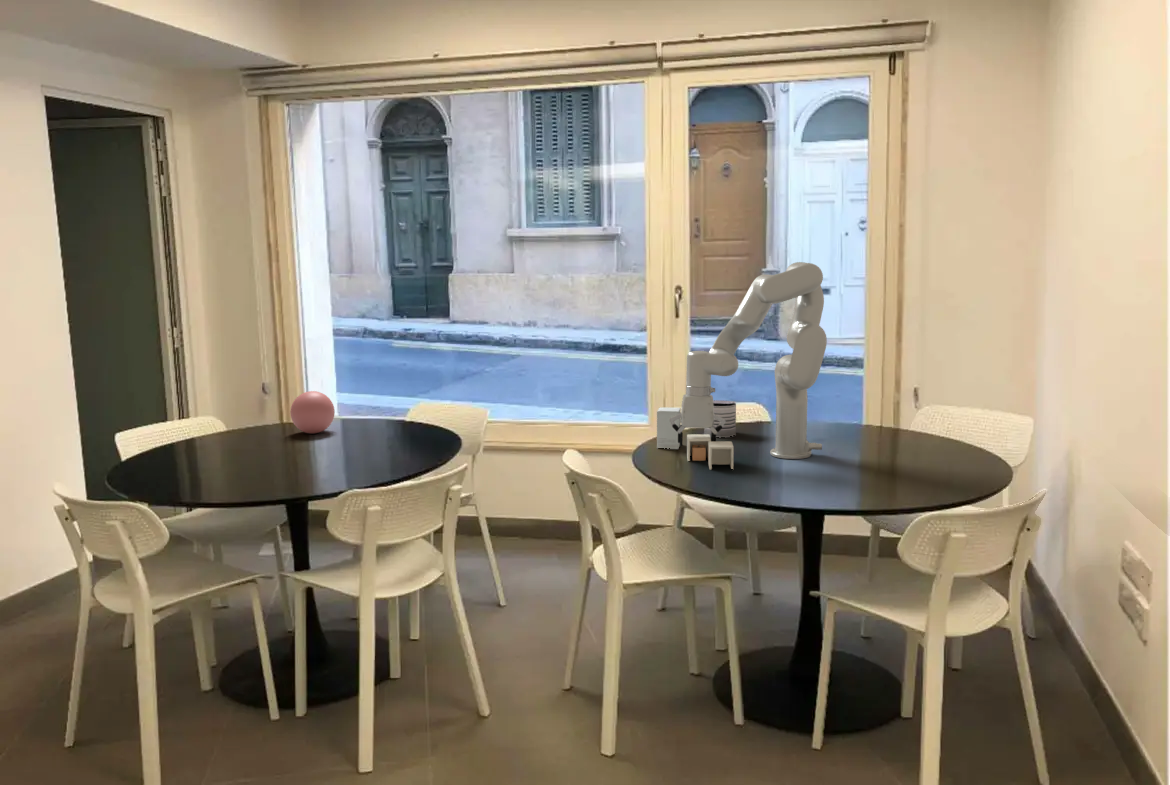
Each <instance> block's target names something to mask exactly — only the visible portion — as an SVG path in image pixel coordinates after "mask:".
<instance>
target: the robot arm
mask: <svg viewBox="0 0 1170 785" xmlns="http://www.w3.org/2000/svg"><path fill="white" fill-rule="evenodd" d="M823 279H824V274H823V271H822V269H821V268H820V267H819V266H818V265H816V264H814V263H811V262H803V261H799V262H798V261H797V262H793V263H791V264H789V266H788V267H787V268H786V270H785V271H783V272H779V273H776V274H760V275H758V276H757V277H756V278H755V279H754V280H753V281H752V283H751V284H750V286H749V288H748V290H747V292H746V294H745V295H744V297H743V298H742V300H741V302H740V304H739V306H738V307H737V309H736V311H735V313H734V314H733V316H732V317H731V318H730V320H728V322H727V323H726V325H725V326H724V327H723V329H722V330H721V331H720V333H719V334H718V335H717V337H716V339H715V341H714V343H712V344H713V345H712V346H711V347H710V350H709V351H705V350H702V351H701V350H692V351H690V352H688V353H687V355H686V376H685V377H686V378H685V379H686V381H685V383H686V384H685V394H683V395H682V400H681V407H680V408H681V413H680V414H678V415H675V416H673V417H671V418H670V419H669V421H670V423H671V425H672V427H673V428H674V429H675V430H676V431H677V433H678V443H680V446H679V447H682V446H683V436H684V434H683V431H684V430H685V429H686V428H687V429H704V428H710V430H711V431H712V433H711V437H710V438H711V441H717V438H716V434H717V433H718V432H719V431H720V430H721V429H722V427H723V426H724V424H725V422H726V421H725V419H723V418H721V417H719V416H718V415H716V414H714V404H713V400H714V397H713V395H712V394H713V393H716V387H712V386H711V385H712V383H711V382H712V376H718V377H720V376H721V377H729V376H730V377H731V376H732V375H734V374H735V373H736V372H737V370H738V369H739V360H738V358H737V356H735V353H736V352H737V350H738V348H739V347H740V345H741V344H742V343H743V342H744V341H745V340H746V339H747V338H748V337H749V336H751V335H753V334H754V333H755V332H757V331H758V329H760V328H761V325H762V324H763V321H764V320H765V318H766V316H767V314H768V312H769V311H770V309H771V307H772V305H773V304H774V305H775V304H780V303H784V302H787V301H790V300H792V299H794V300H795V301H794V308H793V313H792V316H791V319H790V320H791V321H790V324H789V328H788V331H787V333H786V342H787V345H788V346H789V347H790V348H791V349H792V353H791V354H786V355H783V356H782V357H780V358H779V359H778V360H777V362H776V364H775V367H774V382H775V391H776V392H775V397H776V398H775V399H776V400H775V402H776V404H775V447H773V448H771V449H770V455H771V456H772V457H774V458H779V459H787V460H798V459H799V460H800V459H801V460H802V459H807V458H810V457H811V456H812V450H817V451H822V449H823V444H822V443H817V442H809V441H808V438H807V437H808V436H807V432H808V428H807V427H808V426H807V425H808V389H810V388H811V387H813V385H814V384H815V383H816V381H817V380H818V376H819V374H820V370H821V367H822V363H823V360H824V357H825V356H824V355H825V352H826V348H827V343H828V340H827V334H826V331H825V330H824V328H823V327H822V326H821V324H820V323H821V319H822V314H823V311H824V303H825V296H824V291H823V289H822V286H821V285H822V283H823ZM680 418H681V425H680V426H679V427H678V426H677V425H676V424H675V420H678V419H680ZM714 419H716V420H718V421H719V422H720V423H719V425H718V426H717V427H716V428H715V427H714V426H713V425H714Z"/></svg>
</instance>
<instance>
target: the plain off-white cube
mask: <svg viewBox="0 0 1170 785" xmlns="http://www.w3.org/2000/svg"><path fill="white" fill-rule="evenodd" d="M734 452H735V451H734V444H733V442H732V441H725V440H723V441H721V440H720V441H718V440H716V441H708V457H707V460H708V462H707V464H708V469H709V470H712V469H713V467H712V465H729V466H730V469H733V470H734V455H735V454H734Z"/></svg>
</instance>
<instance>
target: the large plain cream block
mask: <svg viewBox="0 0 1170 785" xmlns="http://www.w3.org/2000/svg"><path fill="white" fill-rule="evenodd" d="M708 441H711V437H710V434H704V433H702V434H697V433H696V434H695V433H693V434H692V433H691V434H686V458H687V462H688V461H691V457H690V456H692V445H705V448H706V458H708Z"/></svg>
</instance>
